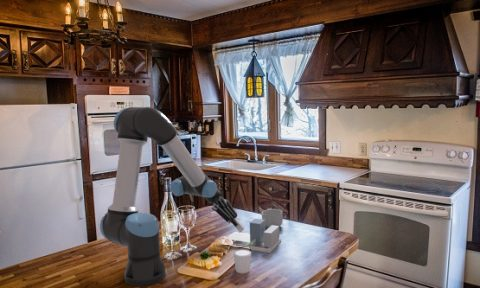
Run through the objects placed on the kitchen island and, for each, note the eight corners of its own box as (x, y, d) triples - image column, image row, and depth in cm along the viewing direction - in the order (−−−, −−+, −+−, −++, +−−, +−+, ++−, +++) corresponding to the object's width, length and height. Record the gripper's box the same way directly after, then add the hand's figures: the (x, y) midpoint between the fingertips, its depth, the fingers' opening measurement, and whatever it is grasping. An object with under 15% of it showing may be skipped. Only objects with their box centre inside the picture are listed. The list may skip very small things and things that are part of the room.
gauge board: (220, 244, 169) (220, 227, 168) (234, 234, 181) (234, 218, 180) (269, 252, 158) (269, 234, 157) (280, 241, 171) (280, 224, 170)
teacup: (283, 230, 186) (283, 214, 185) (262, 230, 186) (261, 215, 185) (281, 221, 199) (281, 206, 199) (261, 221, 200) (260, 207, 199)
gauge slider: (246, 245, 163) (245, 225, 162) (255, 237, 172) (255, 218, 171) (256, 247, 160) (256, 227, 159) (265, 238, 170) (265, 219, 169)
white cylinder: (241, 264, 148) (241, 247, 147) (255, 269, 144) (254, 251, 143) (230, 270, 143) (229, 253, 142) (244, 275, 138) (243, 257, 137)
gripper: (212, 193, 184) (243, 230, 178) (198, 200, 172) (231, 240, 167) (221, 184, 181) (253, 221, 175) (207, 190, 169) (241, 230, 164)
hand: (242, 230), depth 171 cm, fingers closed
